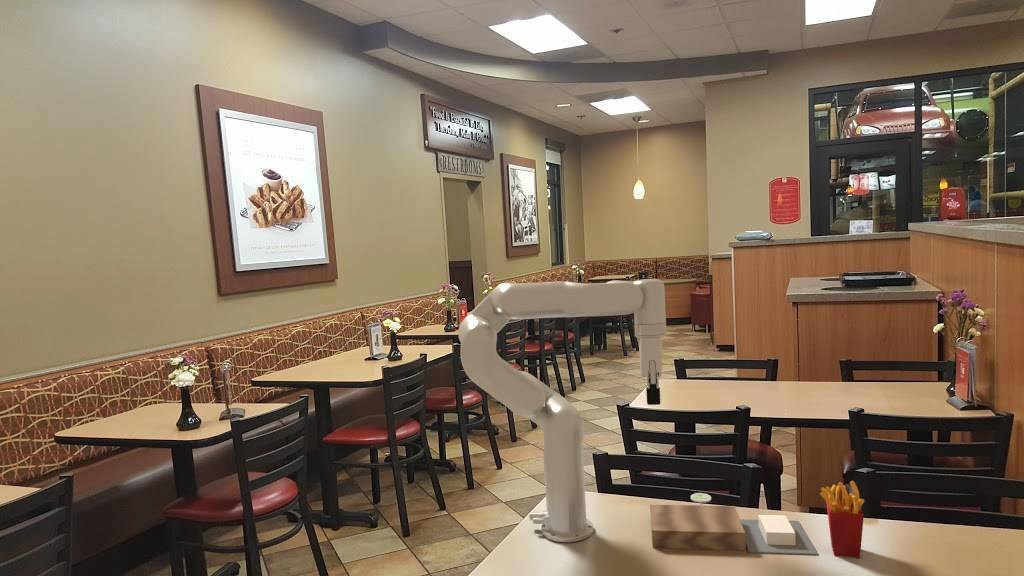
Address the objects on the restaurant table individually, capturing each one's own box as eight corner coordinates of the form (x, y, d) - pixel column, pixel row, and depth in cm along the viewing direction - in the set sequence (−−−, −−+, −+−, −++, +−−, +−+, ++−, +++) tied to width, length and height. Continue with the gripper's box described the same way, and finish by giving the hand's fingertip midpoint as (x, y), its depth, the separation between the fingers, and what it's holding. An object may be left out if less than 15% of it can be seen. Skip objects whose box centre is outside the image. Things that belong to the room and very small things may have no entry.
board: (652, 547, 142) (651, 530, 142) (650, 520, 156) (649, 504, 155) (745, 550, 138) (745, 532, 138) (735, 522, 152) (734, 506, 152)
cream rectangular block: (795, 532, 138) (795, 545, 139) (785, 515, 147) (785, 526, 147) (766, 532, 139) (766, 544, 140) (758, 514, 148) (758, 526, 148)
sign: (690, 517, 155) (690, 492, 170) (690, 520, 156) (690, 495, 170) (712, 518, 154) (710, 493, 168) (712, 521, 154) (711, 496, 168)
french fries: (866, 561, 131) (864, 491, 130) (822, 556, 134) (820, 488, 133) (858, 541, 139) (857, 475, 138) (817, 537, 142) (815, 473, 141)
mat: (748, 552, 137) (748, 551, 137) (736, 520, 153) (736, 519, 153) (817, 554, 134) (817, 553, 134) (798, 521, 150) (798, 520, 150)
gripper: (634, 326, 161) (637, 396, 162) (634, 334, 146) (638, 412, 148) (664, 325, 160) (667, 396, 161) (668, 333, 145) (671, 412, 146)
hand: (653, 403), depth 154 cm, fingers closed
